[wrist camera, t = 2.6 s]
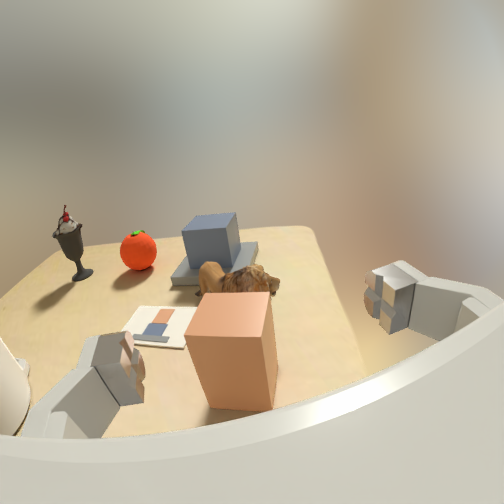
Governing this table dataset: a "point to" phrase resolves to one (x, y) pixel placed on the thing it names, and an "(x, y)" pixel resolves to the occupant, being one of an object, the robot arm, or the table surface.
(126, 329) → the page
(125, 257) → the clementine
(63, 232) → the sundae
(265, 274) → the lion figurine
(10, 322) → the table surface
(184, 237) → the tower base
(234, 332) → the terracotta brick
